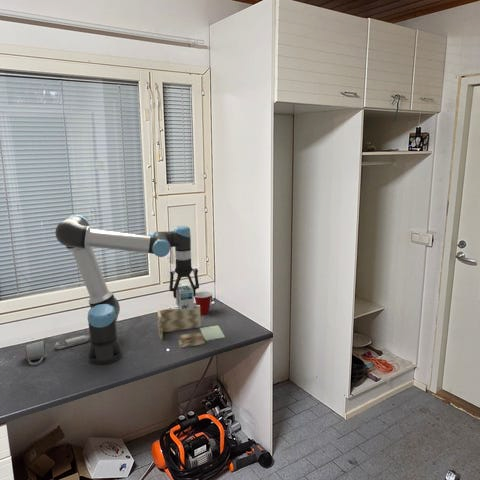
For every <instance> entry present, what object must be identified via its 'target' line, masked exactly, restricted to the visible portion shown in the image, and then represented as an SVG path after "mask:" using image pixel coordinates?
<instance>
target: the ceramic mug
mask: <svg viewBox="0 0 480 480" xmlns="http://www.w3.org/2000/svg"><path fill="white" fill-rule="evenodd" d="M24 355H25V359H26V361H28V364H30V365H31V366H37V365H40V364H41V363H42V362H43V360H44V359H46V358H47V348H46V342H45V340H40V341H36V342H33V343H29V344H26V345H25V346H24ZM34 360H38V361H36V362H32V361H34Z"/></svg>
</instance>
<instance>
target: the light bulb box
mask: <svg viewBox="0 0 480 480" xmlns="http://www.w3.org/2000/svg"><path fill="white" fill-rule="evenodd" d="M177 292H178V305H177V304H176V306H177V308H179V309H180V310H181V311H187V310H194V306H195V298H194V295H193V288H192V286H191V284H190V283H189V282H184V283H183V282H182V283H179V285H178V288H177Z"/></svg>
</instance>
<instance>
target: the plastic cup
mask: <svg viewBox="0 0 480 480" xmlns="http://www.w3.org/2000/svg"><path fill="white" fill-rule="evenodd" d="M212 296H213V292H212V291H205V290H204V291H198V292H196V295H195V296H194V302H195V305H200V316H206V315H209V313H210V308H211V307H210V306H211V300H212Z"/></svg>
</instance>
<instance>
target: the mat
mask: <svg viewBox="0 0 480 480" xmlns="http://www.w3.org/2000/svg"><path fill="white" fill-rule="evenodd" d="M199 331H200V333H201V334H203V336H204V340H205V342H207V341H215V340H220V339H221V338H222V339H225V338H226V336H225V334H224V332H223V331H222V329H221V328H220V326H219V325H213V326H212V325H211V326H206V327H205V326H204V327H199ZM222 339H221V340H222Z"/></svg>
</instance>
